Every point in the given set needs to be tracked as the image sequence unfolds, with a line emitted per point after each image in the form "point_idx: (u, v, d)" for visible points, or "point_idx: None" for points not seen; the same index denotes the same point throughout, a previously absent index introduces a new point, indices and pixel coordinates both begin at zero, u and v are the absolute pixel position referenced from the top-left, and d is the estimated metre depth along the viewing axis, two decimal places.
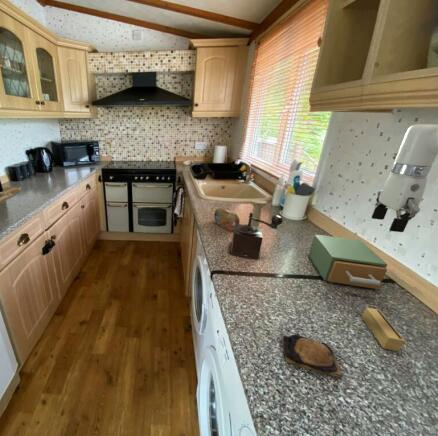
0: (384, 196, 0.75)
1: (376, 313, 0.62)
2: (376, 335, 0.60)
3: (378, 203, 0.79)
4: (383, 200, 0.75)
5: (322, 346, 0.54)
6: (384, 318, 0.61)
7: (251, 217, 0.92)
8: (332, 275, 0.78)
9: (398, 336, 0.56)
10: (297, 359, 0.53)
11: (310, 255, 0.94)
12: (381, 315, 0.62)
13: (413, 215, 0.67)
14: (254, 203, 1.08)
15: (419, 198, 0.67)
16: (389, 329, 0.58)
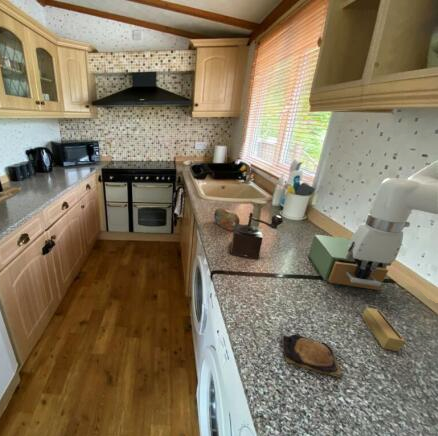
0: (368, 253, 0.68)
1: (376, 313, 0.62)
2: (376, 335, 0.60)
3: (364, 264, 0.71)
4: (368, 256, 0.69)
5: (322, 346, 0.54)
6: (384, 318, 0.61)
7: (251, 217, 0.92)
8: (333, 276, 0.77)
9: (398, 336, 0.56)
10: (297, 359, 0.53)
11: (310, 255, 0.94)
12: (381, 315, 0.62)
13: None
14: (254, 203, 1.08)
15: None
16: (389, 329, 0.58)
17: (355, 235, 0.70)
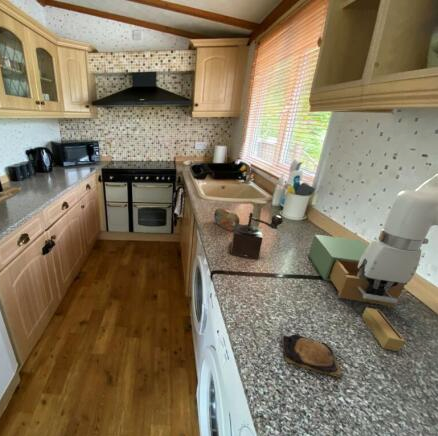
0: (382, 272, 0.62)
1: (376, 313, 0.62)
2: (376, 335, 0.60)
3: (377, 284, 0.65)
4: (382, 276, 0.63)
5: (322, 346, 0.54)
6: (384, 318, 0.61)
7: (251, 217, 0.92)
8: (343, 290, 0.71)
9: (398, 336, 0.56)
10: (297, 359, 0.53)
11: (310, 255, 0.94)
12: (381, 315, 0.62)
13: None
14: (254, 203, 1.08)
15: None
16: (389, 329, 0.58)
17: (367, 252, 0.64)
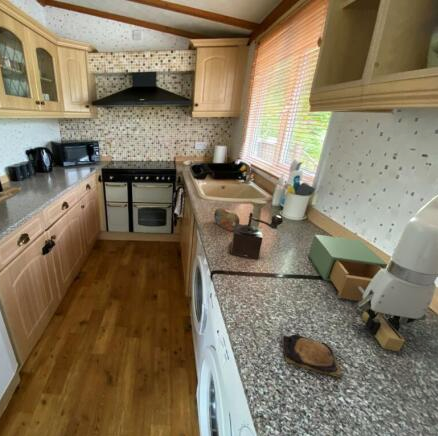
0: (391, 306, 0.56)
1: None
2: (376, 335, 0.60)
3: (379, 317, 0.58)
4: (390, 310, 0.56)
5: (322, 346, 0.54)
6: (384, 318, 0.61)
7: (251, 217, 0.92)
8: (343, 291, 0.71)
9: (398, 336, 0.56)
10: (297, 359, 0.53)
11: (310, 255, 0.94)
12: None
13: None
14: (254, 203, 1.08)
15: None
16: (389, 329, 0.58)
17: (374, 283, 0.58)
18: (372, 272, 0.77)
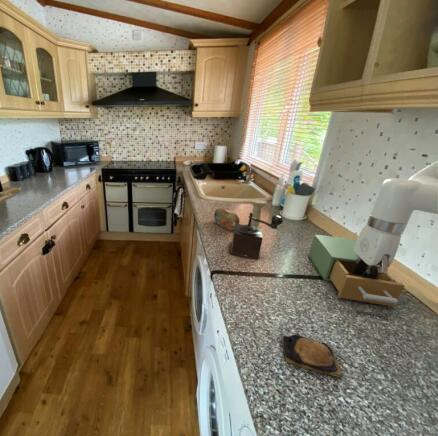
0: None
1: None
2: None
3: None
4: None
5: (322, 346, 0.54)
6: (354, 275, 0.74)
7: (251, 217, 0.92)
8: (343, 291, 0.71)
9: (377, 278, 0.73)
10: (297, 359, 0.53)
11: (310, 255, 0.94)
12: (351, 275, 0.74)
13: None
14: (254, 203, 1.08)
15: None
16: None
17: (386, 247, 0.64)
18: None
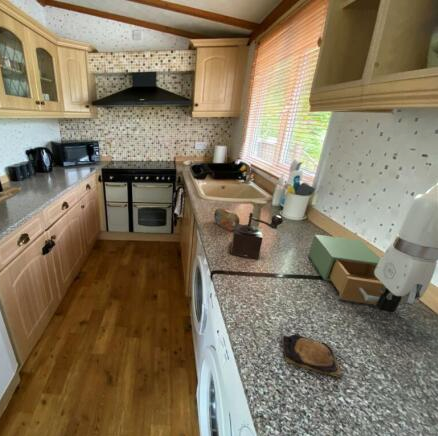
0: None
1: None
2: None
3: None
4: None
5: (322, 346, 0.54)
6: (355, 276, 0.74)
7: (251, 217, 0.92)
8: (344, 292, 0.70)
9: (378, 280, 0.72)
10: (297, 359, 0.53)
11: (310, 255, 0.94)
12: (352, 276, 0.74)
13: None
14: (254, 203, 1.08)
15: None
16: None
17: (418, 276, 0.53)
18: (373, 273, 0.76)
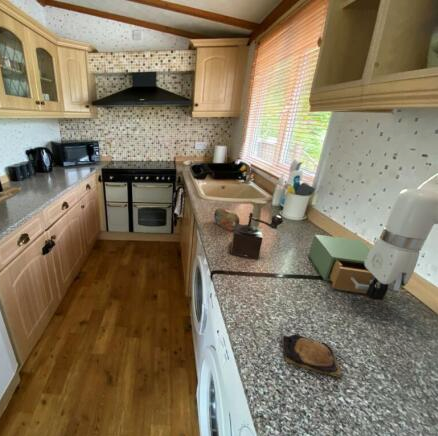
0: None
1: None
2: None
3: None
4: None
5: (322, 346, 0.54)
6: (348, 267, 0.78)
7: (251, 217, 0.92)
8: (337, 281, 0.75)
9: None
10: (297, 359, 0.53)
11: (310, 255, 0.94)
12: None
13: None
14: (254, 203, 1.08)
15: None
16: None
17: (402, 265, 0.58)
18: None
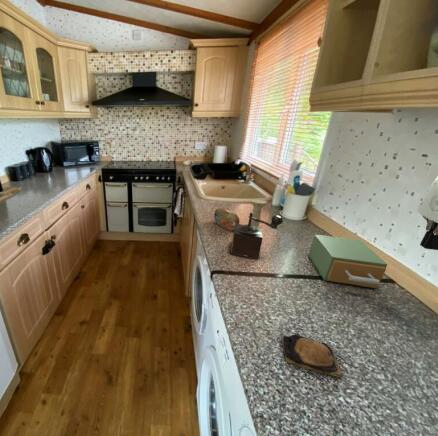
0: None
1: None
2: None
3: None
4: None
5: (322, 346, 0.54)
6: (342, 260, 0.82)
7: (251, 217, 0.92)
8: (331, 274, 0.78)
9: (362, 263, 0.80)
10: (297, 359, 0.53)
11: (310, 255, 0.94)
12: (339, 260, 0.82)
13: None
14: (254, 203, 1.08)
15: None
16: None
17: None
18: None
